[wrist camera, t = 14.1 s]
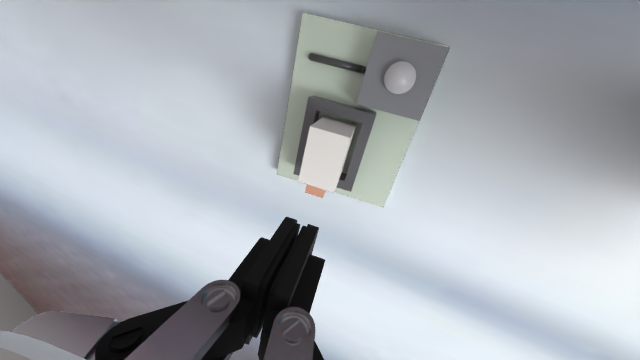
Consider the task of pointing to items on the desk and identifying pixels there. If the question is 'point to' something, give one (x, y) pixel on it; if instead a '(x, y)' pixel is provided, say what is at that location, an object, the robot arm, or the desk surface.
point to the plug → (325, 154)
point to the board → (346, 92)
